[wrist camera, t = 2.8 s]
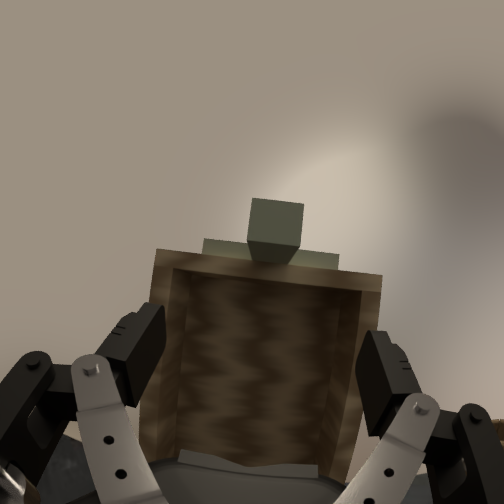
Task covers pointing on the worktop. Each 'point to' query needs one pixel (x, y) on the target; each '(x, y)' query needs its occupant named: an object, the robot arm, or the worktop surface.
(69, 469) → the worktop surface
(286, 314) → the wooden crate
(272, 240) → the sage mallet
